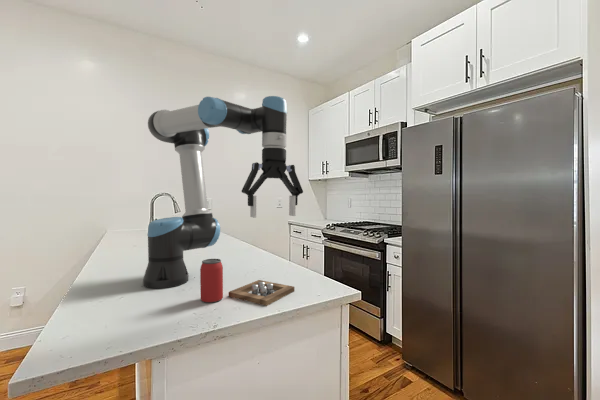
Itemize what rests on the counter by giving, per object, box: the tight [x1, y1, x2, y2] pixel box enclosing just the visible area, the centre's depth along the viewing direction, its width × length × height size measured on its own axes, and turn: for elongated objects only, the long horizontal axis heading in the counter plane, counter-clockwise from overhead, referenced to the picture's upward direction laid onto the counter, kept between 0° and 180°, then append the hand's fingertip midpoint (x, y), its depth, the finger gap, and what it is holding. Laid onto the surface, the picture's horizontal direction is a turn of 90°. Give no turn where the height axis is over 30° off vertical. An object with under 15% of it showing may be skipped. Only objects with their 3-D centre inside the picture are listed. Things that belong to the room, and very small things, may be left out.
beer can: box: [199, 258, 224, 304], centre depth 90 cm, size 7×7×12 cm
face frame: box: [228, 279, 295, 307], centre depth 95 cm, size 15×15×2 cm
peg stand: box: [251, 282, 274, 296], centre depth 95 cm, size 5×5×3 cm
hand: (273, 216), depth 93 cm, fingers open, 13 cm apart
